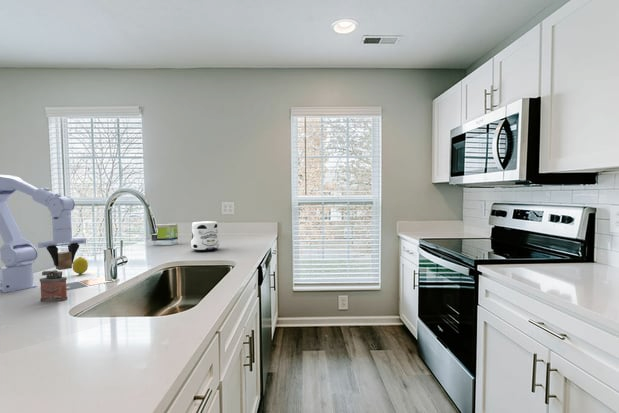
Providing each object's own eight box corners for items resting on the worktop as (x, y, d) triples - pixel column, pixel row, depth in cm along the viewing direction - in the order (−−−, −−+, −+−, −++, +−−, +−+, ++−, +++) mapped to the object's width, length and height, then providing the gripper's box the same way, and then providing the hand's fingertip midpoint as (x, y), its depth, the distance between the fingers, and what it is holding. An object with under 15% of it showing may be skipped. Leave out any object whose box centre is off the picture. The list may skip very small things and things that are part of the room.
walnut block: (59, 270, 119) (58, 254, 119) (55, 268, 122) (55, 252, 122) (72, 268, 123) (71, 252, 122) (68, 266, 125) (68, 251, 125)
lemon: (85, 272, 147) (85, 255, 147) (89, 274, 144) (89, 256, 144) (71, 275, 143) (70, 257, 143) (75, 276, 140) (74, 258, 139)
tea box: (178, 243, 240) (177, 223, 239) (171, 245, 230) (170, 224, 229) (159, 243, 241) (158, 223, 241) (151, 245, 231) (150, 225, 231)
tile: (89, 286, 124) (89, 285, 124) (79, 281, 131) (79, 281, 131) (115, 281, 131) (115, 280, 131) (104, 277, 138) (104, 276, 138)
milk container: (211, 253, 196) (210, 223, 195) (185, 252, 199) (184, 223, 199) (224, 248, 213) (223, 221, 212) (200, 248, 216) (199, 221, 216)
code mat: (49, 294, 114) (49, 293, 114) (40, 288, 122) (40, 288, 122) (88, 286, 124) (88, 286, 124) (78, 281, 131) (78, 281, 131)
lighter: (70, 298, 109) (69, 269, 109) (62, 301, 106) (61, 271, 105) (45, 299, 109) (44, 269, 108) (37, 302, 105) (36, 272, 105)
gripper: (40, 231, 114) (42, 269, 114) (88, 227, 125) (89, 262, 125) (35, 230, 118) (37, 266, 119) (82, 226, 129) (83, 260, 130)
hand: (63, 264), depth 122 cm, fingers closed on walnut block, 4 cm apart
